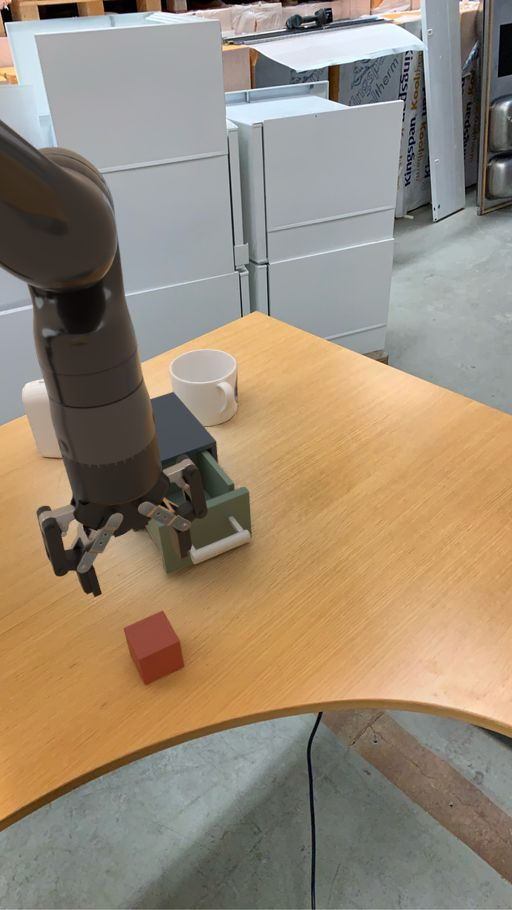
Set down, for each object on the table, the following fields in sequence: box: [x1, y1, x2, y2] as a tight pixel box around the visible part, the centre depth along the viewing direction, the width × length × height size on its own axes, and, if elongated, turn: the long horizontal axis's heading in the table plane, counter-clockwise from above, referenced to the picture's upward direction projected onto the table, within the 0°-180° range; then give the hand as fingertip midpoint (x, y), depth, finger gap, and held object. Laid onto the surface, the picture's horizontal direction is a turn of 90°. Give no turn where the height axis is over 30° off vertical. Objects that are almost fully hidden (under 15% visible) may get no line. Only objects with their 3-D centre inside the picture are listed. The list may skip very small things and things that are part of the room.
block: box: [123, 610, 185, 686], centre depth 67 cm, size 4×4×4 cm
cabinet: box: [132, 391, 219, 533], centre depth 88 cm, size 14×13×10 cm
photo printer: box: [21, 378, 63, 459], centre depth 94 cm, size 10×4×12 cm, turn 85°
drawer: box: [145, 450, 253, 575], centre depth 79 cm, size 17×11×8 cm
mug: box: [168, 348, 239, 427], centre depth 102 cm, size 13×10×8 cm
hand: (138, 571), depth 61 cm, fingers open, 8 cm apart
